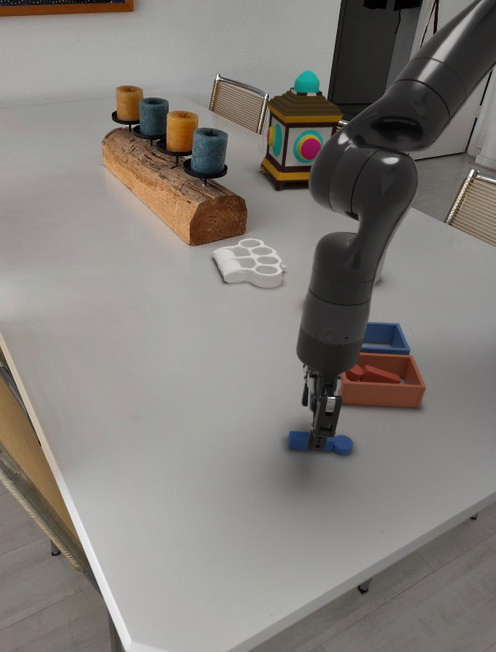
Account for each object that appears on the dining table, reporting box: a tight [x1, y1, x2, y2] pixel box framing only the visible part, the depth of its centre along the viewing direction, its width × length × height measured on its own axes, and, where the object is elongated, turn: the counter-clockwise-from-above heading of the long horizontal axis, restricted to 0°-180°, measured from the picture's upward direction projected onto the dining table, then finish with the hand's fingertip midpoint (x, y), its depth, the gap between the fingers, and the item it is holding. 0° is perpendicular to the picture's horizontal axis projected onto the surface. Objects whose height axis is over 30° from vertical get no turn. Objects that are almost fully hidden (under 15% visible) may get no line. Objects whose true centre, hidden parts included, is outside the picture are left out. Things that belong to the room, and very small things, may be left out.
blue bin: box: [360, 321, 411, 355], centre depth 92 cm, size 12×8×4 cm
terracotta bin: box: [338, 353, 427, 409], centre depth 85 cm, size 12×8×4 cm
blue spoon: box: [287, 430, 354, 456], centre depth 75 cm, size 9×3×2 cm, turn 88°
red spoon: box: [345, 364, 402, 384], centre depth 84 cm, size 9×3×2 cm, turn 89°
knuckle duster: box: [212, 238, 289, 289], centre depth 117 cm, size 3×18×15 cm
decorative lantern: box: [260, 69, 344, 192], centre depth 156 cm, size 20×20×30 cm
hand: (311, 425), depth 73 cm, fingers open, 8 cm apart
